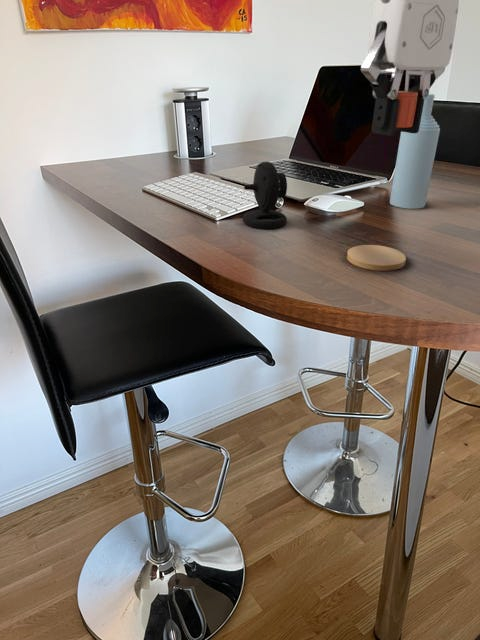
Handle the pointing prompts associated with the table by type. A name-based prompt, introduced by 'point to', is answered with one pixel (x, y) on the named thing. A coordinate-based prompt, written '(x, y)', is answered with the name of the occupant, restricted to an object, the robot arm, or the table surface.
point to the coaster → (376, 257)
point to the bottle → (415, 162)
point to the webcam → (266, 197)
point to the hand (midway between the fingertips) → (395, 131)
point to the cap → (406, 108)
